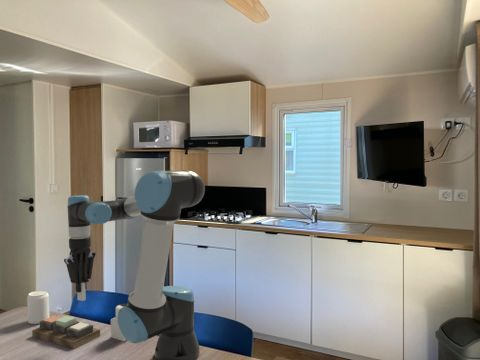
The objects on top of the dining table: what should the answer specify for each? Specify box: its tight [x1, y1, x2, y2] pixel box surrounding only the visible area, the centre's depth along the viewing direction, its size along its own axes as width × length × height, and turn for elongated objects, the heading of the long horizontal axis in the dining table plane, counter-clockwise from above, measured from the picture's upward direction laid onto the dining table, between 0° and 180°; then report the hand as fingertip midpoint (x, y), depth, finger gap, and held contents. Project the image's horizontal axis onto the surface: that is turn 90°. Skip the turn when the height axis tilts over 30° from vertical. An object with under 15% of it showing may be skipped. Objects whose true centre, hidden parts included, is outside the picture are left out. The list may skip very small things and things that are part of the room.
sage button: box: [56, 315, 77, 327], centre depth 153 cm, size 5×5×2 cm
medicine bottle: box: [110, 303, 128, 342], centre depth 153 cm, size 7×7×12 cm
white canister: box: [26, 290, 50, 325], centre depth 168 cm, size 8×8×12 cm
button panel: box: [31, 315, 101, 350], centre depth 153 cm, size 23×12×5 cm, turn 62°
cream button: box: [70, 321, 91, 331], centre depth 149 cm, size 5×5×2 cm
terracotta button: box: [43, 315, 61, 324], centre depth 156 cm, size 5×5×2 cm
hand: (81, 299), depth 150 cm, fingers closed
